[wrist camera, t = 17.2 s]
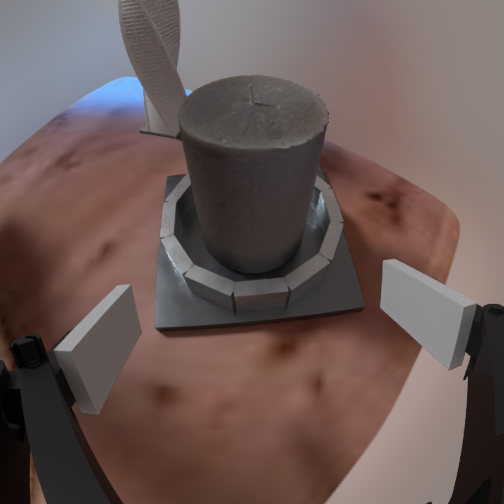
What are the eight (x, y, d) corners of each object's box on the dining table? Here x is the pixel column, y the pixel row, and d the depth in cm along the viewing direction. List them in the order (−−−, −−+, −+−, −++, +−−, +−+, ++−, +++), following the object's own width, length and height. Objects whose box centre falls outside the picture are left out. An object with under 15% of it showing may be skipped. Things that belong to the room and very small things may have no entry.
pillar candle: (185, 221, 29) (149, 86, 16) (264, 180, 32) (267, 51, 19) (240, 295, 25) (226, 154, 12) (324, 239, 28) (366, 102, 15)
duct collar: (158, 331, 24) (142, 315, 21) (169, 182, 34) (161, 157, 30) (361, 310, 25) (377, 292, 21) (318, 170, 34) (323, 144, 31)
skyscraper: (208, 115, 42) (191, -58, 18) (180, 144, 38) (146, -55, 14) (165, 109, 43) (138, -45, 20) (135, 136, 39) (92, -35, 16)
